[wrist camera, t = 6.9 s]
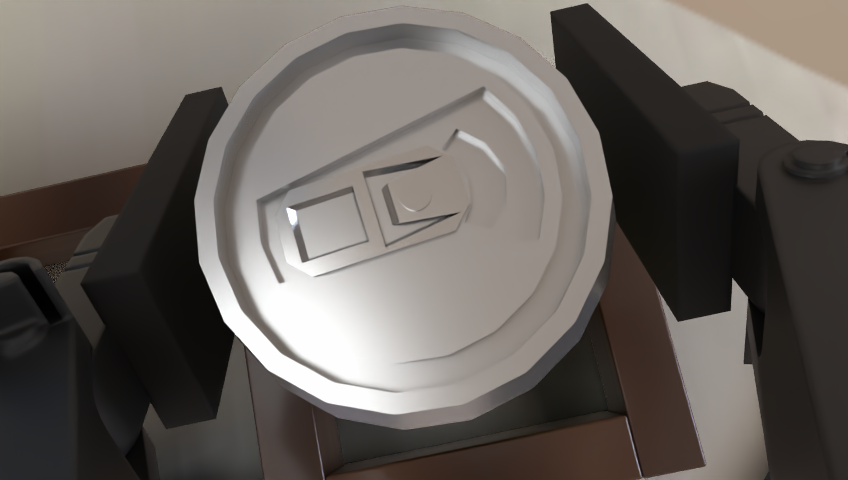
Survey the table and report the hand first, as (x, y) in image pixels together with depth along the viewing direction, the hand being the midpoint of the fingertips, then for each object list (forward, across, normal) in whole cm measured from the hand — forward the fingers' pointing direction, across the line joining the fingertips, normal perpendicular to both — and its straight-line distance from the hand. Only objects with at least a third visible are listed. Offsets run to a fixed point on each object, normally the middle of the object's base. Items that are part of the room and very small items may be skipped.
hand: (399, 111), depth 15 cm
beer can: (+2, 0, -7) cm, 7 cm away
